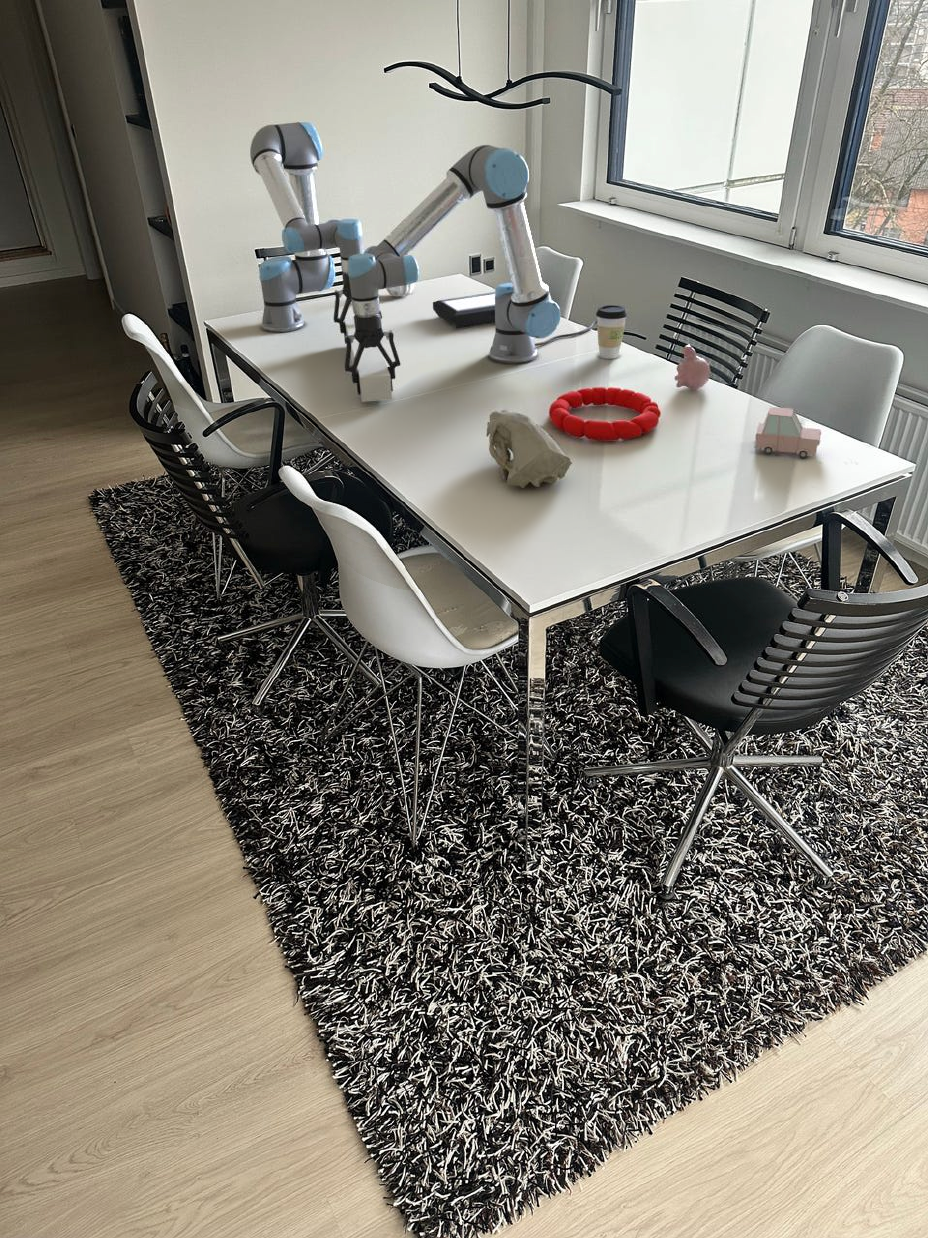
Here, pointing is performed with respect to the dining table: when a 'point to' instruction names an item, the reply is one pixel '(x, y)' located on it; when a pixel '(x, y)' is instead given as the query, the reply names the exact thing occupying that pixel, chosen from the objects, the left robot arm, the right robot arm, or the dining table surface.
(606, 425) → the decorative ring
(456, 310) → the electronic device
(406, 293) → the seashell
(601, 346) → the coffee cup
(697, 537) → the dining table surface
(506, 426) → the animal skull
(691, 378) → the figurine
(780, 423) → the toy car
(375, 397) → the wide beam
